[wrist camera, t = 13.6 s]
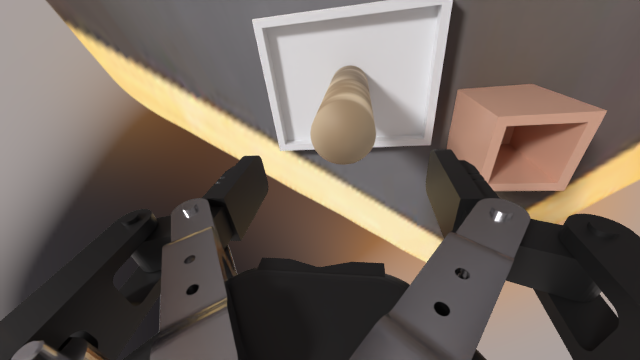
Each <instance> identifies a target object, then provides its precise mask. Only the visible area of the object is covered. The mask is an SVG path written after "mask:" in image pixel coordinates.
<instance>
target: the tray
mask: <svg viewBox="0 0 640 360" xmlns="http://www.w3.org/2000/svg"><path fill="white" fill-rule="evenodd" d="M452 2H453V0H388V1H380V2H373V3H366V4H359V5H352V6H344V7H337V8H330V9H323V10H316V11H308V12H301V13H294V14H287V15H280V16H273V17H265V18H258V19H252V22H253V26H254V31H255V36H256V40H257V45H258V50H259V54H260V59H261V63H262V68H263V73H264V77H265V82H266V87H267V91H268V96H269V101H270V105H271V110H272V114H273V119H274V124H275V128H276V133H277V138H278V142H279V147H280V151H288V150H314V147H313V144H312V142H311V136H310V132H311V126H312V123H313V121H314V118H315V116H316V114H317V112H318V109H319V107H320V105H321V103H322V100H323V98H324V96H325V94H326V92H327V89H328V87H329V85H330V83H331V80H332V78H333V76H334V74H335V73H336V72H337V71H338V70H339V69H340V68H342V67H344V66H350V65H351V66H356V67H358V68H360V69H361V70H363V72H364V73H365V74H366V76H367V80H368V86H369V92H370V98H371V104H372V110H373V116H374V122H375V129H376V139H375V143H374V146H373V147H393V146H419V145H431V139H432V133H433V126H434V120H435V113H436V107H437V100H438V94H439V87H440V81H441V74H442V68H443V61H444V55H445V48H446V42H447V35H448V28H449V22H450V15H451V9H452Z"/></svg>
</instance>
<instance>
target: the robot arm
mask: <svg viewBox="0 0 640 360" xmlns="http://www.w3.org/2000/svg"><path fill="white" fill-rule="evenodd" d="M426 191H427V195H428V198H429V200H430V203H431V205H432V208H433V211H434V213H435V216H436V219H437V221H438V224H439V227H440V229H441V232H442V235H443V237H444V240H443V241H442V243H441V244H440V245H439V247H438V248H437V249H436V251H435V252H434V253H433V255H432V256H431V257H430V259H429V260H428V261H427V263H426V264H425V266H424V267H423V268H422V270H421V271H420V272H419V274H418V275H417V276H416V278H415V279H414V281H413V282H412V283H411V285H409V284H408V283H406V282H404V281H402V280H400V279H399V278H396V277H394V276H391V275H388V274H385V269H384V264H383V263H365V262H349V263H343V264H337V265H331V266H325V267H315V266H312V265H309V264H305V263H302V262H299V261H295V260H291V259H280V258H262V259H261V262H260V264H259V267H257V268H253V269H250V270H247V271H244V272H242V273H240V274H238V275H237V272H236V268H235V265H234V261H233V258H232V255H231V251H230V248H229V246H228V243H229V241H230V240H231V241H232V240H233V241H241V240H242V238H243V236H244V235H245V233H246V231H247V229H248V227H249V226H250V223H251V222H252V220H253V218H254V216H255V215H256V213H257V211H258V209H259V207H260V205H261V204H262V202H263V200H264V198H265V196H266V195H267V192H268V181H267V177H266V174H265V170H264V166H263V163H262V159H261V157H260V156H243V157H242V158H241V160H240V161H239V162H238V163H237V164H236V165H235V166H234V167H232V168H230V169H229V170H227V171H226V172H225V173H224V174H223V175H222V176H221V179H219V180H218V181H217V182H216V184H214V185H213V186H212V187H211V188H210V190H209V191H208V192H207V193H206V194H205V195H204V196H203V197H202V198H200V199H199V198H198V199H192V200H189V201H187V202H184V203H182V204H181V205H179V206H178V207H176V208H175V209H174V210H173V212H172V214H171V215H170V216H166V217H161V218H155V217H154V215H153V213H152V212H151V211H150V210H148V209H141V210H136V211H133V212H130V213H128V214H126V215H124V216H122V217H121V218H119V219H118V220H117V221H115V222H114V223H113V224H112V225H111V226H110V227H109V228H107V229H106V230H105V231H104V232H103V233H102V234H100V235H99V236H98V237H97V238H96V239H95V240H93V241H92V242H91V243H90V244H89V245H88V246H87V247H85V248H84V249H83V250H82V251H81V252H80V253H78V254H77V255H76V256H75V257H74V258H73V259H72V260H70V261H69V262H68V263H67V264H66V265H65V266H64V267H62V268H61V269H60V270H59V271H58V272H57V273H55V274H54V275H53V276H52V277H51V278H50V279H49V280H47V281H46V282H45V283H44V284H43V285H42V286H40V287H39V288H38V289H37V290H36V291H35V292H33V293H32V294H31V295H30V296H29V297H28V298H27V299H26V300H24V301H23V302H22V303H21V304H20V305H18V306H17V307H16V308H15V309H14V310H13V311H12V312H11V313H9V314H8V315H7V316H6V317H5V318H4V319H2V321H0V360H116V359H117V358H118V356H119V355H120V353H121V352H122V350H123V349H124V347H125V346H126V344H127V343H128V341H129V340H130V338H131V337H132V335H133V334H134V332H135V331H136V329H137V328H138V327H139V325H140V324H141V322H142V321H143V319H144V318H145V316H146V315H147V313H148V312H149V310H150V309H151V307H152V306H153V304H154V303H155V301H156V300H157V298H158V297H159V296H160V294H161V296H160V322H159V323H160V324H159V332H158V333H157V334H156V335H154V336H153V337H152V338H150V339H149V340H148V341H146V342H145V343H144V344H142V345H141V346H140V347H139V348H137V349H136V350H135V351H133V352H132V353H131V354H129V355H128V356H127V357H126V358H124V359H123V360H486V359H485V358H484V357H483V356H482V355H481V353H479V351H477V349H476V348H477V346H478V343H479V341H480V338H481V336H482V334H483V332H484V329H485V327H486V325H487V322H488V320H489V318H490V315H491V313H492V311H493V308H494V306H495V304H496V301H497V299H498V297H499V294H500V292H501V289H502V287H503V285H504V283H505V280H506V281H510V282H513V283H517V284H520V285H523V286H527V287H530V288H533V289H534V291H535V293H536V294H537V296H538V298H539V300H540V301H541V303H542V305H543V307H544V309H545V310H546V312H547V314H548V316H549V317H550V319H551V321H552V323H553V325H554V326H555V328H556V330H557V332H558V333H559V335H560V337H561V339H562V340H563V342H564V344H565V346H566V348H567V349H568V351H569V353H570V355H571V356H572V358H573V360H640V237H639V236H638V235H637V234H635V233H634V232H633V231H632V230H630V229H629V228H627V227H625V226H623V225H622V224H620V223H617V222H615V221H613V220H610V219H607V218H604V217H600V216H596V215H591V214H574V215H571V216H569V217H568V218H567V220H566V221H565V223H564V225H559V224H553V223H548V222H543V221H538V220H534V219H530V216H529V214H528V212H527V211H526V210H525V209H523V208H522V207H521V206H519V205H517V204H515V203H513V202H510V201H507V200H503V199H500V198H499V197H498V196H497V194H496V193H495V192H494V191H493V189H492V188H491V187H490V185H489V184H488V183H487V182H486V181H485V179H484V178H483V176H482V175H480V172H479V171H478V170H477V169H476V167H475V166H474V165H472V164H470V163H469V162H467V161H465V160H458V158H457V157H456V155H455V154H454V153H453V151H452V150H451V149H441V150H432V151H431V153H430V157H429V164H428V171H427V177H426ZM130 256H132V257H133V259H134V260H135V261H136V262H137V263H138V265H139V267H138V268H137V269H136V271H135V272H134V273H133V274H132V275H131V277H130V278H129V279H128V280H127V282H125V284H124V285H123V286H122V287H121V288H120V290H119V291H118V290H117V289H116V288H115V287H114V285H113V277H114V275H115V273H116V272H117V270H118V269H119V268H120V267H121V266H122V265H123V264H124V263H125V262H126V260H127V259H128V258H129V257H130ZM601 291H602V292H603V293H604V295H605V296H606V297H607V298H608V300H609V301H610V302H611V303H612V305H613V306H614V307H615V309H616V311H617V314H618V317H619V318H618V317H617V316H616V315H615V313H614V312H613V311H612V310H611V308H610V307H609V306H608V304H607V303H606V302H605V301H604V299H603V298H602V297H601V295H600V293H601Z"/></svg>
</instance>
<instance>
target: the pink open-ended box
mask: <svg viewBox="0 0 640 360" xmlns="http://www.w3.org/2000/svg"><path fill="white" fill-rule="evenodd" d="M606 112H607V111H606V110H604V109H601V108H598V107H595V106H592V105H590V104H587V103H584V102H581V101H578V100H576V99H573V98H570V97H567V96H565V95H562V94H559V93H556V92H553V91H551V90H548V89H545V88H542V87H539V86H537V85H534V84H523V85H510V86H496V87H483V88H469V89H458V92H457V97H456V102H455V107H454V112H453V118H452V123H451V128H450V133H449V138H448V143H447V148H446V149H451V150H452V151H453V153H454V154H455V155H456V157H457V158H458V160H465V161H467V162H469V163H470V164H472V165H474V166H475V167H476V169H477V170H478V171H479V172H480V175H482V176H483V178H484V179H485V181H486V182H487V183H488V184H489V185H490V187H491V188H492V189H493V191H564V190H565V188H566V186H567V184H568V183H569V181H570V179H571V177H572V175H573V173H574V171H575V170H576V168H577V166H578V164H579V162H580V160H581V158H582V157H583V155H584V153H585V151H586V149H587V147H588V145H589V144H590V142H591V140H592V138H593V136H594V134H595V132H596V131H597V129H598V127H599V125H600V123H601V121H602V120H603V118H604V116H605V114H606Z"/></svg>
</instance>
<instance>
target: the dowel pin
mask: <svg viewBox="0 0 640 360" xmlns="http://www.w3.org/2000/svg"><path fill="white" fill-rule="evenodd" d="M310 136H311V142H312V144H313V147H314V149H315V150H316V152H317V153H318V154H319V155H320V156H321V157H322V158H324V159H325V160H327V161H329V162H332V163H335V164H351V163H355V162H357V161H359V160H361V159H363V158H364V157H365V156H366V155H367V154H368V153H369V152H370V151H371V149H372V148H373V146H374V143H375V139H376V129H375V122H374V116H373V110H372V104H371V98H370V92H369V86H368V80H367V76H366V74H365V73H364V72H363V70H361V69H360V68H358V67H356V66H351V65H350V66H344V67H342V68H340V69H339V70H338V71H337V72H336V73H335V74H334V76H333V78H332V80H331V83H330V85H329V87H328V89H327V92H326V94H325V96H324V98H323V100H322V103H321V105H320V107H319V109H318V112H317V114H316V116H315V118H314V121H313V123H312V126H311V132H310Z"/></svg>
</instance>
